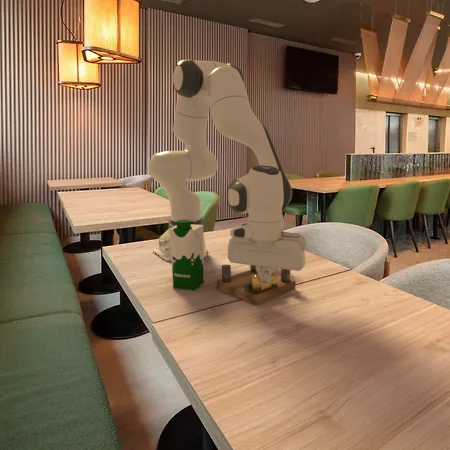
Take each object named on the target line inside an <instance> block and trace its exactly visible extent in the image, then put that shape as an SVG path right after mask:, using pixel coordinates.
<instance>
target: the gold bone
mask: <svg viewBox="0 0 450 450" xmlns="http://www.w3.org/2000/svg"><path fill="white" fill-rule="evenodd" d="M275 286H277V277H275V276H271V282H270V283H264V282H263V283H261V282H260V276H259V274H254V275H252V276H251V291H252V292H261V290H264V289H267V288H269V287H275Z"/></svg>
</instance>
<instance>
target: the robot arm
mask: <svg viewBox="0 0 450 450" xmlns="http://www.w3.org/2000/svg"><path fill="white" fill-rule="evenodd" d="M172 74H173V75H172V82H173V89H174V90H175V91H176V93H177V94H178V95H177V99H176V103H175V112H174V121H173V127H172V131H173V134H174V136H175V138H176V139H177V140H179V141H180V142H182V143H183V144H184V149H183V150H166V151H162V152H158V153H157V152H156V153H154V154H153V155H152V156H151V158H150V160H149V163H148V170H149V173H150V175H151V177H152V178H153V180H154V181H156V182H158V184H160V185H161V186H162V188H163V189H164V190H165V192H166V195H167V197H168V201H169V208H170V209H169V210H170V219H167V224H168V229H167V230H166V231H165V232H164V233H163V234H162V235H160V236H159V238H158V247H156V248H153V250H152V253H153V252H154V254H155V253H156V254H157V255H156V254H155V255H156V256H158V255H159V256H158V257H160V259H162V260H164V261H166V262H172V253H171V238H170V232H169V229H170V228H172V227H174V226H176V225H177V221H178V220H190V221H191V224H194V225H204V223H203V218H202V205H201V203H202V202H201V199H200V197H199V195H198V194H197V193H195V192H193V191H191V190H189V188H188V185H187V182H196V181H204V180H207V179H209V178H212V177H214V176H215V175H216V173H217V171H218V160H217V158H216V156H215V155H214V153H213V152H212V151H211V150H210V149H209V147H208V144H207V138H206V135H207V126H208V121H209V120H208V119H209V113H210V116H211V119H212V122H213V123H212V124H213V125H214V128H215V129H216V131H217V132H218V133H220V134H221V135H222V136H224V137H225V138H226V139H227V138H228V139H230V140H233V141H236V142H239V143H240V144H243V145H245V146H247V147H249V148H250V149H251V150H252V151H253V152H254V154H255V156H256V159H257V161H258V165H255V166H252V167H251V168H250V169H249V172H248V173H246V174H245V175H243V176H241V177H238V178H236V179H233V180H231V182H230V184H229V185H228V187H227V189H226V201H227V205H228V207H229V208H230V209H231V210H232V211H234V212H235V213H238V214H248V217H247V218H248V220H247V223H243V224H239V225H237V226H235V227H233V228H232V229H230V234H229V235H230V236H231V238H229V241H228V245H227V259H228V261H229V262H230V263H233V264H239V265H240V264H241V265H245V266H246V265H247V266H248V265H254V266H256V271H257V272H258V274H259V276H260V282H264V283H270V282H271V275H272V274H274V273H275V270H276V269H280V270H281V269H287V270H290V271H296V272H299V271H301V270H303V269H304V267H305V266H306V251H305V250H306V248H307V239H306V238H305V236H304V235H302V234H301V233H299V232H288V231H284V215H283V211H284V210H285V209H286V208H287V207H288V206H289V204H290V203H291V201H292V198H293V189H292V185H291V184H290V181H289V179H288V178H287V176H286V175H285V173H284V170H283V168H282V166H281V162H280V160H279V158H278V154H277V152H276V149H275V146H274V144H273V141H272V139H271V136H270V134H269V131H268V129H267V128H266V126H265V124H264V123H262V122H261V121H260V120H259V119H258V117H257V116H256V115H255V113H254V112H253V109H252V107H251V103H250V102H249V101H250V100H249V96H248V92H247V89H246V86H245V82H244V81H245V80H244V79H245V78H244V77H245V76H244V75H243V72H242V70H241V68H240V67H238V66H236V65H234V64H232V63H224V62H220V61H216V60H193V59H183V60H180V61H178V63H177V64H176V65H175V67H174V70H173V73H172ZM208 252H209V250H208V248H206V239H205V232H204V231H203V259H204V258H206V257H207V253H208ZM263 267H268V271H267V272H268V273H269V274H268V275H266V274H264V272H263V270H262V268H263Z"/></svg>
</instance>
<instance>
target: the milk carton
mask: <svg viewBox="0 0 450 450" xmlns="http://www.w3.org/2000/svg"><path fill="white" fill-rule="evenodd" d="M204 226H205V225H204V224H202V225H194V224H191V221H190V220H178V221H177V225H176V226H174V227H172V228H170V229H169V228H168V229H169V232H170V238H171V253H172V261H171V271H172V289H179V290H184V291H185V290H187V291H197V289H198V288H200V287H201V286H202V285H203V284H204V283H205V272H204V271H205V270H204V269H205V268H204V265H205V264H204V262H205V260H204V258H203V232H204V228H205V227H204Z"/></svg>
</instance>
